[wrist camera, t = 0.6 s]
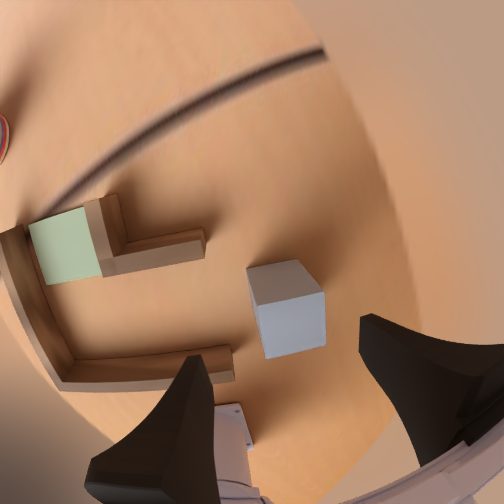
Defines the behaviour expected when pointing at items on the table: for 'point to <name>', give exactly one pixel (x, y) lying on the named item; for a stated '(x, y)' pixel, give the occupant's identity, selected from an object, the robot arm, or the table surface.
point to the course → (111, 263)
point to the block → (287, 308)
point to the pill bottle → (3, 137)
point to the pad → (65, 247)
